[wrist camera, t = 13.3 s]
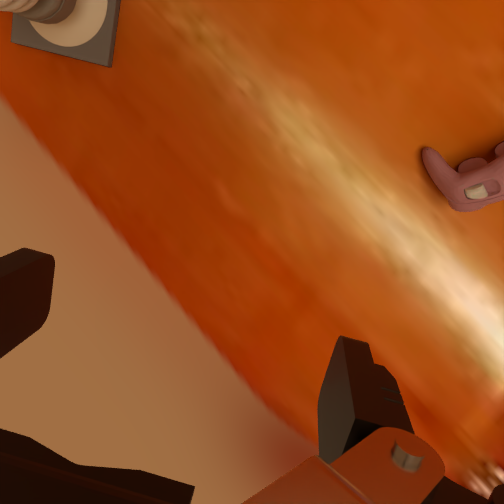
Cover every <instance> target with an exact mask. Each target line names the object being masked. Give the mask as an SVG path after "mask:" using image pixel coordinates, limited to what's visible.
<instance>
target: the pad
mask: <svg viewBox="0 0 504 504" xmlns="http://www.w3.org/2000/svg"><path fill="white" fill-rule="evenodd" d="M120 1H121V0H77V1H76V5H75V8H74V10H73V12H72V13H71V14H70V15H69V16H68V17H67V18H66V19H65V20H63V21H61V22H59V23H57V24H43V23H39V22H35V21H30V20H27V19H25V18H23V17H21V16H19V15H17V14H16V13H14V12H13V21H12V34H11V42H13V43H16V44H20V45H24V46H28V47H32V48H36V49H40V50H44V51H48V52H52V53H56V54H60V55H64V56H68V57H72V58H76V59H80V60H84V61H88V62H92V63H95V64H99V65H103V66H107V67H112V60H113V52H114V45H115V38H116V30H117V23H118V16H119V9H120Z"/></svg>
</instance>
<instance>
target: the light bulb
mask: <svg viewBox="0 0 504 504" xmlns="http://www.w3.org/2000/svg"><path fill="white" fill-rule="evenodd" d="M76 1H77V0H0V11H9V12H14V13H16V14H17V15H19V16H21V17H23V18H25V19H27V20H30V21H35V22H39V23H43V24H57V23H59V22H61V21H63V20H65V19H66V18H67V17H68V16H69V15H70V14H71V13H72V12H73V10H74V8H75V5H76Z"/></svg>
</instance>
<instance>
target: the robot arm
mask: <svg viewBox="0 0 504 504" xmlns="http://www.w3.org/2000/svg"><path fill="white" fill-rule="evenodd" d="M54 269H55V260H54V257H53V256H52V255H50V254H46V253H42V252H39V251H35V250H32V249H28V248H21V249H19V250H17V251H14V252H12V253H10V254H7V255H5V256H3V257H0V358H2V357H3V356H4V355H6V354H7V353H8V352H9V351H11V350H12V349H13V348H15V347H16V346H17V345H19V344H20V343H21V342H23V341H24V340H25V339H27V338H28V337H29V336H31V335H32V334H33V333H35V332H36V331H37V330H39V329H40V328H41V327H42V325H43V324H44V322H45V321H46V319H47V316H48V314H49V310H50V303H51V295H52V286H53V278H54ZM403 404H404V402H403V399H402V396H401V395H400V390H399V388H398V385H397V382H396V379H395V378H394V377H393V376H392V375H391V374H390V372H389V371H388V370H387V369H386V368H385V367H384V366H381V365H378V364H374V362H373V358H372V355H371V351H370V347H369V344H368V343H366V342H363V341H359V340H355V339H352V338H348V337H345V336H339V338H338V340H337V342H336V345H335V348H334V351H333V354H332V357H331V360H330V363H329V366H328V369H327V372H326V375H325V378H324V381H323V384H322V387H321V390H320V395H319V400H318V436H319V456H318V455H314V456H312V457H310V458H308V459H306V460H305V461H304V462H302V463H301V464H299V465H298V466H296V467H295V468H293V469H292V470H290V471H289V472H287V473H286V474H284V475H283V476H281V477H280V478H278V479H277V480H275V481H274V482H272V483H271V484H269V485H268V486H267V487H265V488H264V489H262V490H261V491H259V492H258V493H257V494H255V495H253V496H252V497H250V498H249V499H247V500H246V501H244V502H243V503H241V504H504V484H502V485H498V486H497V487H495V488H494V490H493V491H492V493H491V495H490V497H489V499H486V498H484V497H482V496H480V495H478V494H476V493H474V492H472V491H470V490H468V489H466V488H464V487H462V486H460V485H459V484H457V483H455V482H453V481H451V480H450V479H448V478H447V477H445V476H444V474H445V466H444V463H443V461H442V459H441V457H440V456H439V454H438V453H437V452H436V451H435V450H434V449H433V448H432V447H431V446H430V445H429V444H428V443H427V442H425V441H424V440H423V439H421V438H419V437H418V436H416V435H415V434H414V431H413V428H412V425H411V422H410V419H409V416H408V414H407V411H406V408H405V405H403ZM194 489H195V486H192V485H188V484H185V483H182V482H178V481H175V480H171V479H168V478H165V477H161V476H158V475H155V474H152V473H148V472H145V471H141V470H131V469H119V468H106V467H95V466H83V465H78V464H75V463H73V462H71V461H69V460H67V459H66V458H64V457H62V456H60V455H59V454H57V453H55V452H54V451H52V450H50V449H49V448H47V447H45V446H43V445H41V444H40V443H38V442H37V441H35V440H33V439H32V438H30V437H26V436H24V435H20V434H17V433H14V432H10V431H7V430H3V429H0V504H191V500H192V496H193V493H194Z"/></svg>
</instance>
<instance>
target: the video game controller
mask: <svg viewBox="0 0 504 504" xmlns="http://www.w3.org/2000/svg"><path fill="white" fill-rule="evenodd" d="M495 154H496V159H495V160H493V161H492V162H490V163H488V164H487V161H486V160H485V159H483V158H471V159H468V160H466V161H464V162H462V163H461V164H460V165H459V168H458V173H457V172H456V171H455V170H453V169H452V168H451V167H450V166H449V165H448V164H447V163H446V161H445V160H444V159H443V158H442V157H441V155H440V154H439V153H438V152H437V151H435V150H434V149H432V148H429V147H426V148H424V149H423V152H422V159H423V163H424V165H425V167H426V170H427V172H428V173H429V175H430V177H431V178H432V180H433V182H434V183H435V184H436V186H437V187H438V188H439V189H440V191H441V192H442V193H443V195H444V196H445V197H446V198H447V200H448V202H449V205H450V207H451V208H452V209H454V210H456V211H460V212H470V211H475V210H479V209H481V208H483V207H484V206H486V205H487V204H491V203H495V202H498V201H501V200H504V142H502V143H500V144H499V145H498V146H497V147H496V148H495Z"/></svg>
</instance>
